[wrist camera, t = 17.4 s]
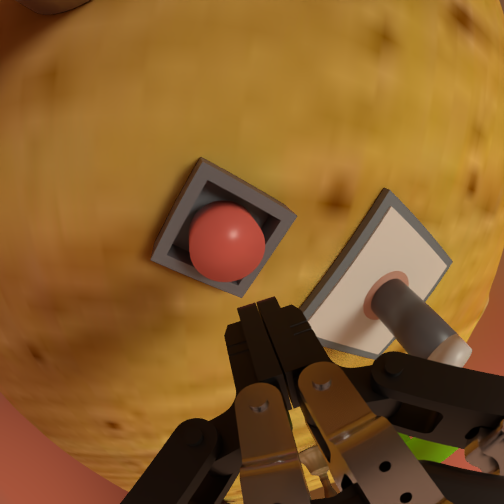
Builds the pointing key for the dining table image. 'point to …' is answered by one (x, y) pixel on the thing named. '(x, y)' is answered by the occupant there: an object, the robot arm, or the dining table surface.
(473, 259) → the dining table surface
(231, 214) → the button
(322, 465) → the hand bell
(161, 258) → the button base
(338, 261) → the board
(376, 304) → the canister
